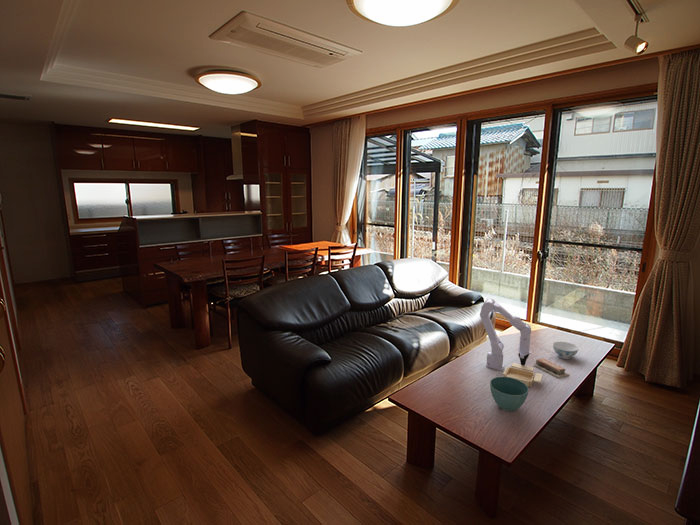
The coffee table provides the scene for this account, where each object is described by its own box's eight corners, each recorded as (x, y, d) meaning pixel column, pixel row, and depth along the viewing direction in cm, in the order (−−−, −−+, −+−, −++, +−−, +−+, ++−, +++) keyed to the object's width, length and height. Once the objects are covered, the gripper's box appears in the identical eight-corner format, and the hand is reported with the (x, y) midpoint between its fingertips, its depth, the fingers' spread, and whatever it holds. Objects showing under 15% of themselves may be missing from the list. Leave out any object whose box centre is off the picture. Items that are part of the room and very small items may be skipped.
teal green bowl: (534, 413, 184) (536, 391, 181) (504, 420, 179) (506, 397, 176) (509, 394, 201) (511, 374, 198) (481, 400, 196) (482, 379, 193)
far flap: (533, 380, 208) (540, 381, 206) (536, 373, 216) (542, 374, 214) (533, 381, 208) (540, 382, 206) (536, 374, 216) (542, 375, 214)
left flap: (511, 365, 225) (512, 362, 228) (511, 366, 226) (512, 363, 228) (532, 370, 219) (533, 367, 221) (532, 372, 219) (533, 368, 222)
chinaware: (582, 361, 238) (583, 350, 236) (559, 362, 238) (560, 351, 237) (569, 351, 252) (570, 341, 251) (547, 352, 253) (548, 341, 251)
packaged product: (533, 359, 233) (544, 356, 237) (532, 366, 234) (544, 363, 237) (558, 371, 216) (570, 368, 220) (558, 379, 217) (569, 375, 221)
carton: (501, 380, 216) (502, 375, 216) (506, 371, 227) (506, 366, 226) (530, 387, 208) (531, 382, 207) (534, 378, 218) (534, 372, 217)
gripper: (529, 349, 214) (528, 371, 217) (533, 341, 226) (531, 361, 229) (517, 347, 218) (515, 368, 221) (521, 339, 230) (519, 359, 232)
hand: (522, 364), depth 225 cm, fingers closed
